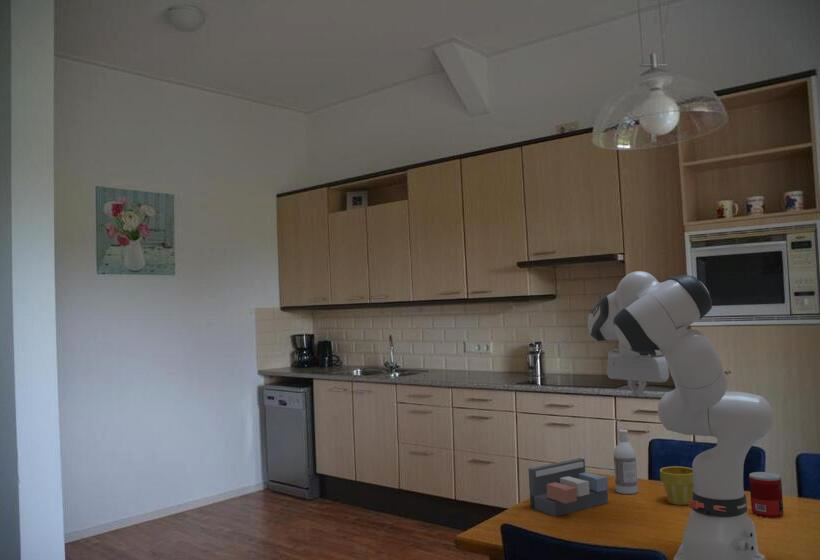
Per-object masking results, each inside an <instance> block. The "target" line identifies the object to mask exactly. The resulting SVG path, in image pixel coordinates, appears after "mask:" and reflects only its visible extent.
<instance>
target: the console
mask: <svg viewBox="0 0 820 560" xmlns="http://www.w3.org/2000/svg"><path fill="white" fill-rule="evenodd" d="M585 459H586V458H582V457H579V458H575V459H574V458H573V459H570V460H564V461H560V462H559V461H558V462H555V463H550V464H545V465H540V466H539V465H538V466H534V467H530V468H528V485H529V501H530V503H529V505H530V506H529V507H530V509H532V510H535V511H539V512H541V513H544V514H547V515H549V516H553V517H555V518H556V517H561V516H563V515H567V514H570V513H571V514H572V513H574V512H579V511H583V510H586V509H590V508H594V507H598V506H601V505H605V504H609V496H608V495H609V494H608V492H609V491H608V490H609V489H608V490H604V491H600V492H595V491H593V490H589V493H590V494H588V495H584V496H580V497H578V496H577V501H575V502H571V503H567V504H565V503H563V502H559V501H556V500H553V499H550V498H547V484H550V483H554V482H556V483H560V478H563V477H567V476H569V477H573V478H577V479H579V476H578V474H581V473H585V472H586V460H585Z"/></svg>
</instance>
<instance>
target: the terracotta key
mask: <svg viewBox="0 0 820 560" xmlns="http://www.w3.org/2000/svg"><path fill="white" fill-rule="evenodd" d="M547 498H550V499H553V500H556V501H559V502H563V503H565V504H567V503H571V502H575V501H577V491H576V488H575V487H571V486H567V485H564V484H560V483H556V482H554V483H550V484H547Z"/></svg>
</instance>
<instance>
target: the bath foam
mask: <svg viewBox="0 0 820 560" xmlns="http://www.w3.org/2000/svg"><path fill="white" fill-rule="evenodd" d="M613 450H614V451H613V468H614V469H613V470H614V484H615V485H614V486H615V491H616V493H619V494H621V495H634V494H637V493H638V492H639V490H638V489H639V486H638V473H637V472H638V471H637V457H636V451H635V449H634V447H633V446H632V445H631V443H630V442H629V430H628V429H618V443H617V444H616V445H615V448H614V449H613Z"/></svg>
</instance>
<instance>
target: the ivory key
mask: <svg viewBox="0 0 820 560" xmlns="http://www.w3.org/2000/svg"><path fill="white" fill-rule="evenodd" d="M560 484H564V485H567V486H571V487H575V488H576V491H577V496H578V497H580V496H584V495H588V494H590V493H589V481H585V480H581V479H577V478H573V477H569V476H567V477H563V478H560Z"/></svg>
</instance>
